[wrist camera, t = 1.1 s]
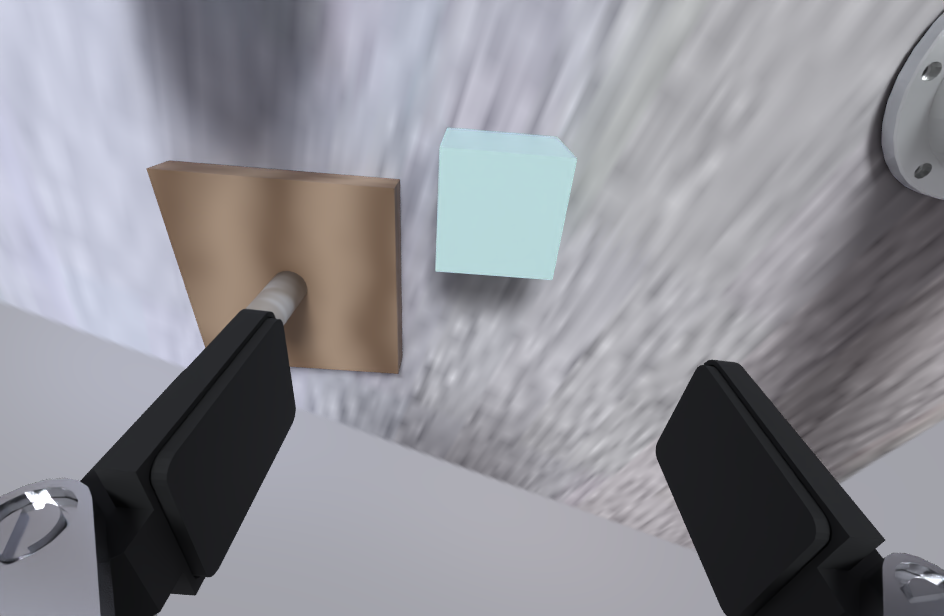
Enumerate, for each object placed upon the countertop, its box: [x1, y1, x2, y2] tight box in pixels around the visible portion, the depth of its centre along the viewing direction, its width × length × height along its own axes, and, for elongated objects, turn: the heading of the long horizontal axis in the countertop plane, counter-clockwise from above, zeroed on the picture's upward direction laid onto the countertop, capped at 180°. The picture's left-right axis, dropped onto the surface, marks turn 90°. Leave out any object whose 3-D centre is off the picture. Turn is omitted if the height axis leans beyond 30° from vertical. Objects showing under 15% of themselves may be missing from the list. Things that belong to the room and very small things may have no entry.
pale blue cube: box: [435, 128, 577, 280], centre depth 23 cm, size 6×6×6 cm
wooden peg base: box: [147, 161, 402, 374], centre depth 26 cm, size 14×14×6 cm
